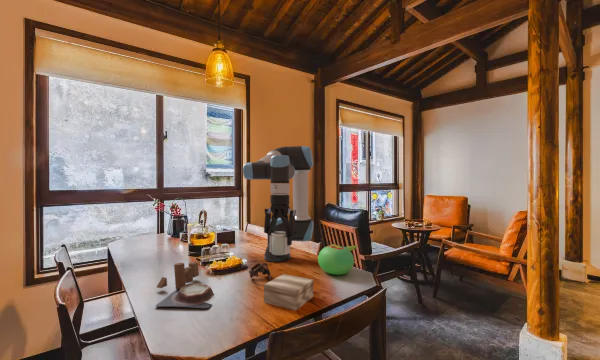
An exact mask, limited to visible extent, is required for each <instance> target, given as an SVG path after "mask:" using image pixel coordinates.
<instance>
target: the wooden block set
mask: <svg viewBox="0 0 600 360" xmlns="http://www.w3.org/2000/svg"><path fill="white" fill-rule="evenodd" d="M173 267H174V268H173V269H174V283H175V289H176V290H177V289H181V287H183V286H187V284H189V283H191V282H193V281H194V278H197V277H199V276H200V273H199V270H200V269H199V262H197V261H195V262H194V261H192V262H190V263H188V266H185V262H177V263H174V265H173ZM167 279H168V278H167V277H164V276H162V277H161V278H160V280H159V282H158V284H157V286H156V288H158V289H162V288H165V287H167V286H168V280H167Z"/></svg>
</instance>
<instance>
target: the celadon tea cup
mask: <svg viewBox="0 0 600 360" xmlns="http://www.w3.org/2000/svg"><path fill="white" fill-rule="evenodd" d="M271 235H272V254H273V255H286V254H285V237H286V232H284V231H277V232H272V233H271Z"/></svg>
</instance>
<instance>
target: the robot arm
mask: <svg viewBox="0 0 600 360" xmlns="http://www.w3.org/2000/svg"><path fill="white" fill-rule="evenodd" d="M313 156H314V155H313V151H312V149H311V147H310V146H308V145H307V146H306V145H299V146H298V145H297V146H295V145H293V146H281V147H277V148H274V149H272V150H270V151H268V152H267V153H266V155H265V156H263V157H262V158H260V159H258V160H257V161H254V162H252V161H250V162H245V163H244V164H243V165H242V175H243V179H245V180H252V181H253V180H263V181H264V180H268V181H269V180H270V193H271V195H270V200H269V201H270V207H269V208H268V207H267V208H264V226H263V233H265V234H267V239H266V240H267V244H266V248H265V252H264V256H263V257H264V260H265V261H268V262H273V263H280V262H286V261H287V262H288V261H289V260H291V246H292V243H293V242H303V243H304V242H310V241H311V240H312V237H313V232H314V226H315V225H314V224H315V223H314V221H313V220H312V217H311V216H310V215H309V182H308V181H309V173H310V171H311V168H313V167H314V157H313ZM291 179H292V200H293V201H292V206H293V207H292V208H293V209H292V208H290V195H289V194H290V180H291ZM277 231H284V232H286V237H285V254H286V255H273V254H272V235H271V233H272V232H277Z"/></svg>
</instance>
